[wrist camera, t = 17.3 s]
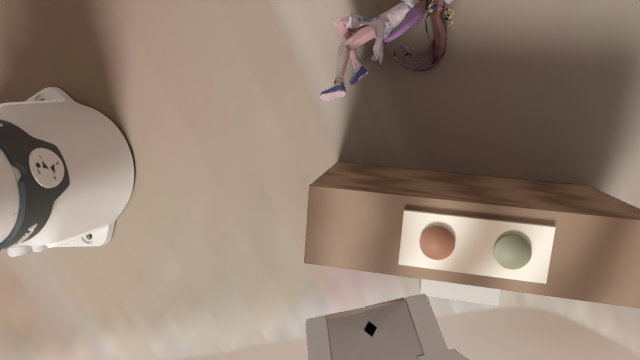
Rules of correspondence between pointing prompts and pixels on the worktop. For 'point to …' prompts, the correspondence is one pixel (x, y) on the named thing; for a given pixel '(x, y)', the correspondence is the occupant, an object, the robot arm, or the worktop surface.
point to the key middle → (460, 292)
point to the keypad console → (476, 232)
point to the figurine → (385, 37)
